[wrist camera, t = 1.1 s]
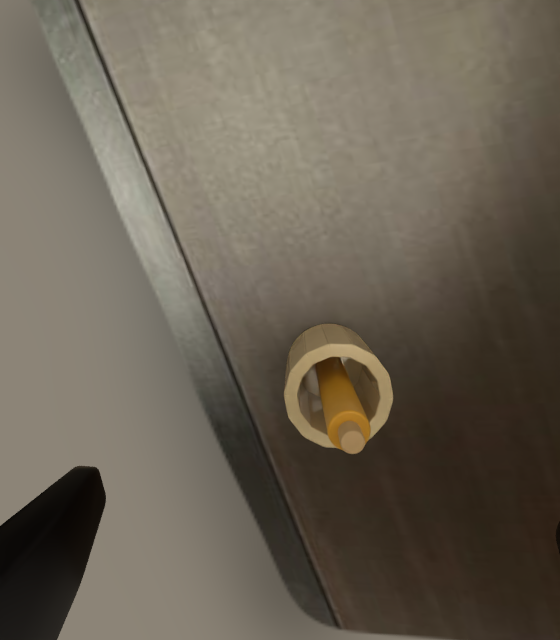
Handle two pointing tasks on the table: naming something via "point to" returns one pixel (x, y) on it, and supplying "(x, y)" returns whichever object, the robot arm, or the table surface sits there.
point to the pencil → (341, 407)
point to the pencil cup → (359, 366)
